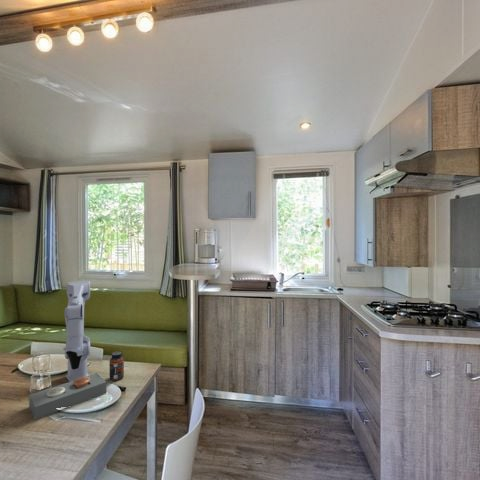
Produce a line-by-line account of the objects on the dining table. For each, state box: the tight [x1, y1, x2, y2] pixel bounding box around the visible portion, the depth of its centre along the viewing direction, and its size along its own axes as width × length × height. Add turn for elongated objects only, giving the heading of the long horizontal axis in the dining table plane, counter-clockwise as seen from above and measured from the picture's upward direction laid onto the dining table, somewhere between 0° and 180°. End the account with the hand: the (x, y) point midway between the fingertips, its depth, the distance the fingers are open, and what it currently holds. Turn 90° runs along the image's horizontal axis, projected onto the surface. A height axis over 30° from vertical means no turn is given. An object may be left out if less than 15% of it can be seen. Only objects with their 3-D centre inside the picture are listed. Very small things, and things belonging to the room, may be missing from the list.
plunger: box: [46, 387, 65, 398], centre depth 110 cm, size 6×6×4 cm
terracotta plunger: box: [73, 377, 90, 389], centre depth 116 cm, size 6×6×4 cm
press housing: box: [28, 372, 107, 421], centre depth 113 cm, size 24×11×4 cm, turn 135°
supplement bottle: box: [109, 351, 125, 382], centre depth 130 cm, size 6×6×11 cm
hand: (75, 368), depth 117 cm, fingers closed
